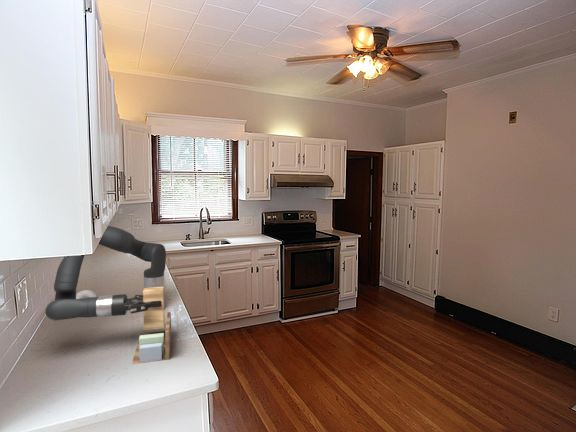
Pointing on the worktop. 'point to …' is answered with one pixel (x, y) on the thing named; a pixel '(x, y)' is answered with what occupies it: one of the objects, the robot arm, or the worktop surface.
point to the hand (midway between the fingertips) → (161, 301)
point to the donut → (85, 294)
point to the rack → (166, 342)
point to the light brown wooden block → (154, 308)
